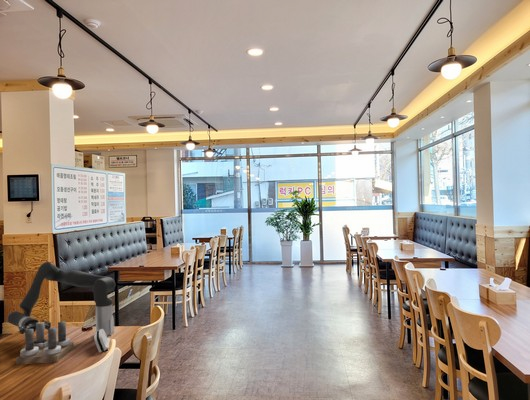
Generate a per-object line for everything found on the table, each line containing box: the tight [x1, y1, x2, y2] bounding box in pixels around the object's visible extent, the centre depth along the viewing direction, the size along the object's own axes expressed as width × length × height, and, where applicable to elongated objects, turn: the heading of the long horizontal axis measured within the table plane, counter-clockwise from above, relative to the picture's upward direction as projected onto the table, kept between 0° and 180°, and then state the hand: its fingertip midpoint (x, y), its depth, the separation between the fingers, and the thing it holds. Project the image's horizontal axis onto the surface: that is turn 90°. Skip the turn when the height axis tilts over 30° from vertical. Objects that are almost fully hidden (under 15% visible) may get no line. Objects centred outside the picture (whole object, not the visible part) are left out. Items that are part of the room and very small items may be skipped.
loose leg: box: [35, 321, 45, 344], centre depth 199 cm, size 4×4×12 cm
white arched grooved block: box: [93, 329, 112, 353], centre depth 205 cm, size 17×5×10 cm, turn 19°
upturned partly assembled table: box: [15, 320, 74, 365], centre depth 194 cm, size 19×19×15 cm
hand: (40, 330), depth 199 cm, fingers open, 8 cm apart
